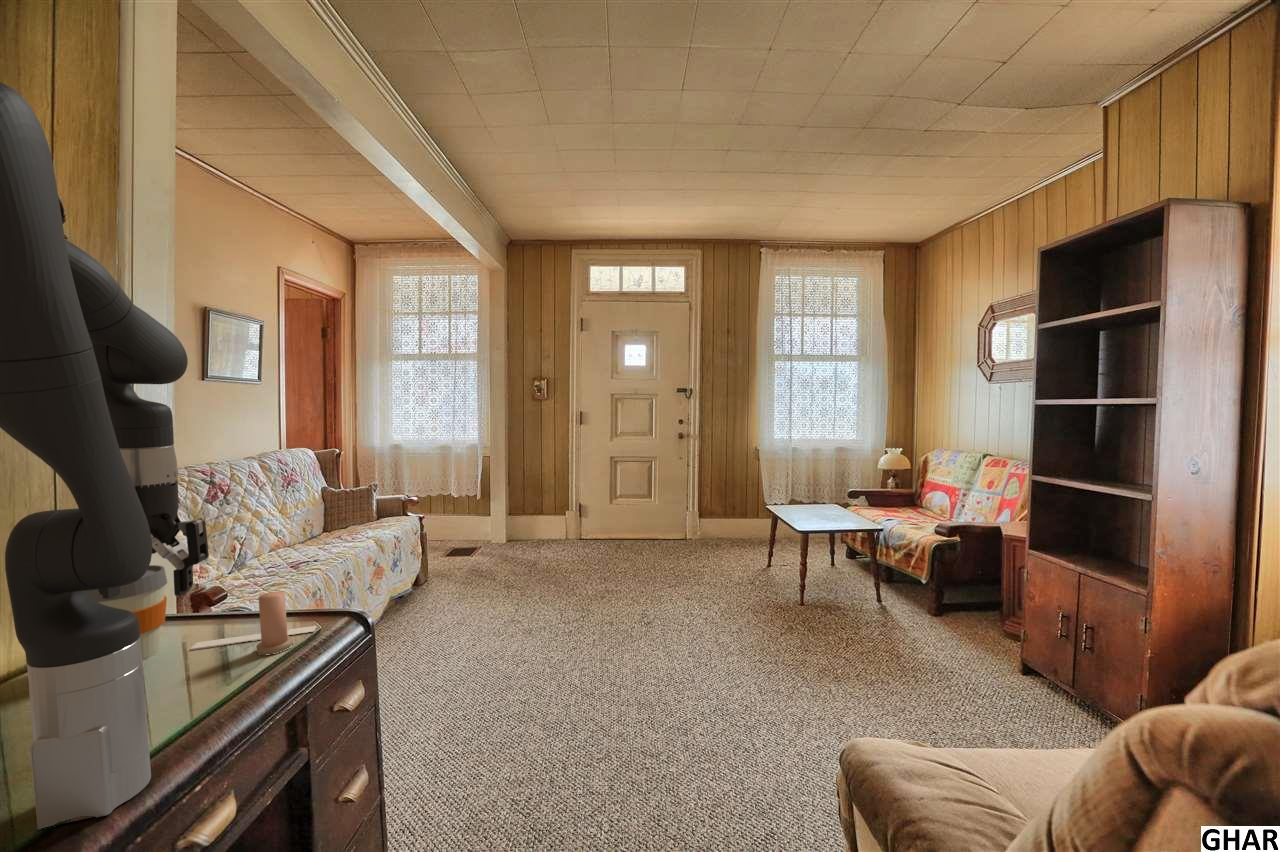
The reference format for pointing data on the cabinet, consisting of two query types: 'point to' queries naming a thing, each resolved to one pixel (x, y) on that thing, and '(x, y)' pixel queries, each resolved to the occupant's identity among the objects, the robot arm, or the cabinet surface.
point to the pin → (273, 624)
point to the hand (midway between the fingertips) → (147, 595)
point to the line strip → (245, 638)
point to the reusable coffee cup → (142, 606)
